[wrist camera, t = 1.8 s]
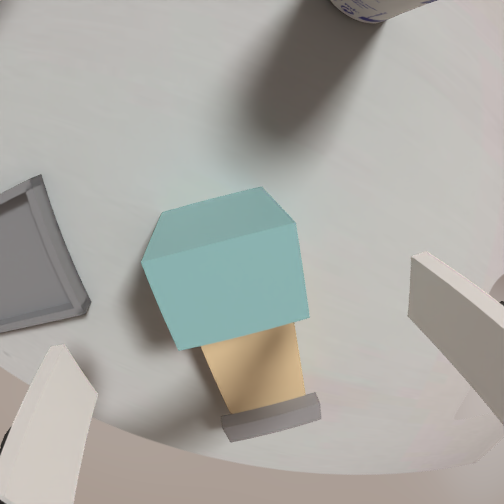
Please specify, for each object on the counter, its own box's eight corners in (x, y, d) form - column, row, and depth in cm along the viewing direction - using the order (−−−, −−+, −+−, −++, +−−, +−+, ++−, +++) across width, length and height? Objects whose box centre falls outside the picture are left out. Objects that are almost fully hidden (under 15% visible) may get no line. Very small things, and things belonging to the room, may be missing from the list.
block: (162, 212, 18) (141, 262, 11) (261, 186, 18) (295, 222, 12) (183, 278, 19) (178, 350, 13) (275, 254, 20) (309, 317, 13)
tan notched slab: (173, 287, 19) (169, 320, 16) (288, 257, 20) (306, 285, 17) (228, 414, 25) (232, 446, 22) (309, 393, 26) (321, 423, 22)
